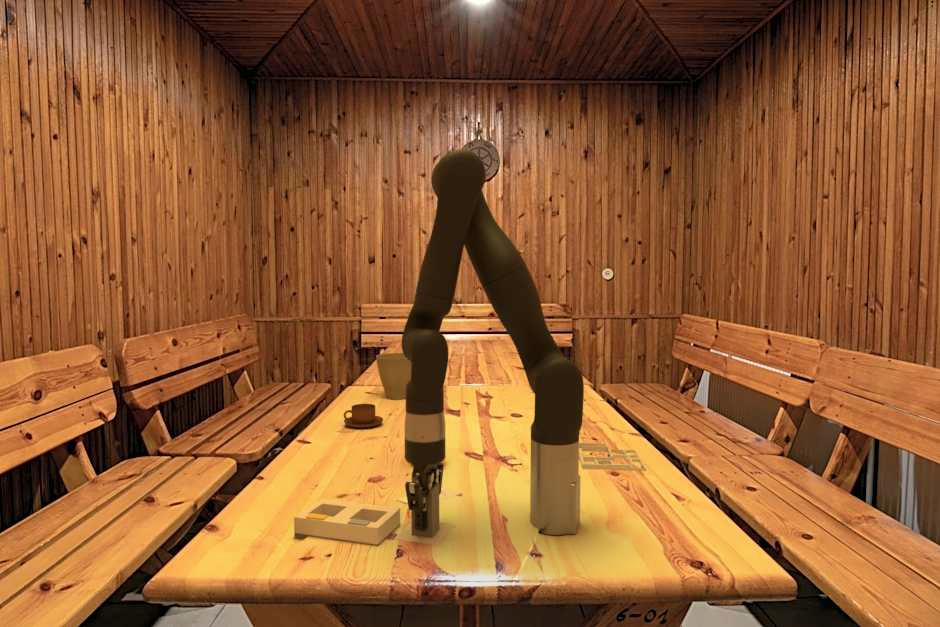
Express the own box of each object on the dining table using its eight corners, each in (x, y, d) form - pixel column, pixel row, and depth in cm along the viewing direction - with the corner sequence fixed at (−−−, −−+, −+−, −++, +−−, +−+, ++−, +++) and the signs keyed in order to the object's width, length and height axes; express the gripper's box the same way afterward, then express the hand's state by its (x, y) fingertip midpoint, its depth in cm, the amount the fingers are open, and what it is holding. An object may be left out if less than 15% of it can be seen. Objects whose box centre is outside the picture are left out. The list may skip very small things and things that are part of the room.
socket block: (400, 528, 128) (400, 506, 128) (377, 550, 118) (377, 526, 118) (322, 518, 133) (321, 497, 133) (294, 538, 124) (294, 515, 123)
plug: (439, 529, 125) (439, 482, 125) (431, 537, 122) (431, 489, 121) (419, 526, 127) (419, 480, 126) (411, 535, 123) (411, 487, 122)
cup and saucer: (357, 432, 199) (357, 412, 199) (337, 425, 208) (336, 405, 208) (390, 426, 207) (390, 406, 207) (369, 419, 216) (369, 400, 216)
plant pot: (382, 393, 257) (382, 352, 256) (420, 394, 255) (420, 353, 254) (371, 401, 242) (371, 358, 241) (411, 402, 240) (411, 358, 239)
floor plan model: (542, 448, 183) (542, 441, 183) (634, 451, 181) (634, 444, 181) (543, 470, 165) (543, 462, 165) (646, 473, 163) (646, 465, 163)
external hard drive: (395, 506, 141) (434, 490, 151) (423, 516, 136) (462, 498, 145) (395, 499, 141) (434, 483, 150) (423, 508, 136) (462, 491, 145)
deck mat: (456, 530, 127) (456, 526, 127) (439, 549, 119) (439, 545, 119) (412, 524, 130) (412, 520, 130) (393, 543, 121) (393, 538, 121)
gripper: (430, 447, 115) (430, 543, 116) (456, 427, 128) (456, 513, 130) (390, 443, 117) (391, 537, 118) (420, 424, 131) (421, 509, 132)
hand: (425, 524), depth 124 cm, fingers closed on plug, 4 cm apart
